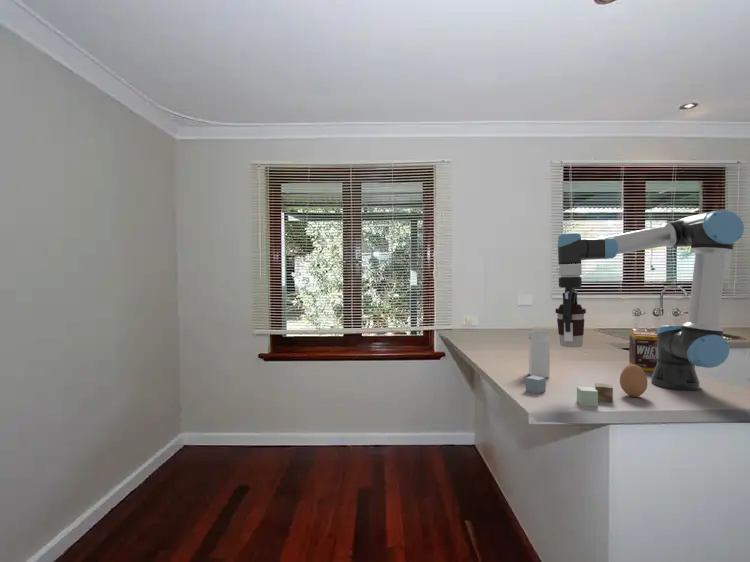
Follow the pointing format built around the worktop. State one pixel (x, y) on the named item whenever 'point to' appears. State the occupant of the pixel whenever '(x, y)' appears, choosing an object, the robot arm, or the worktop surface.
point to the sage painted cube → (587, 396)
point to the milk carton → (539, 353)
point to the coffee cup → (577, 325)
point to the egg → (633, 380)
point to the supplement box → (643, 350)
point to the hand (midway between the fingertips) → (571, 339)
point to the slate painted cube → (535, 384)
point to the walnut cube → (604, 392)
